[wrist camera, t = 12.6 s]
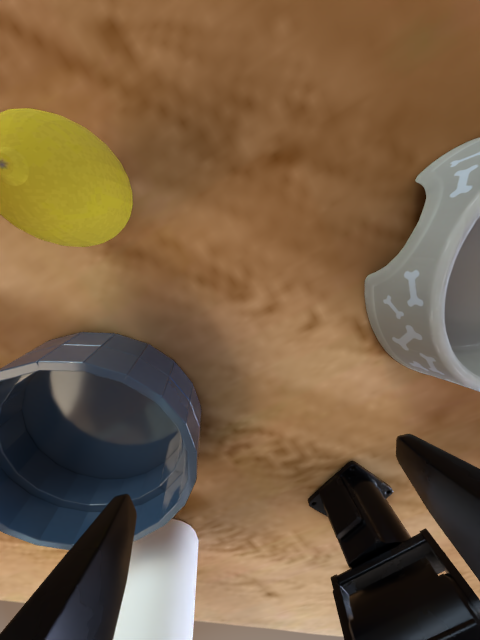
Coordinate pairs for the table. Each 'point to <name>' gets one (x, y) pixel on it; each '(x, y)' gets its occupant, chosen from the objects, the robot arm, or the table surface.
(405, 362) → the dog bowl
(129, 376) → the bowl
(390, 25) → the table surface
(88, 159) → the lemon
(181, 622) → the spray bottle
